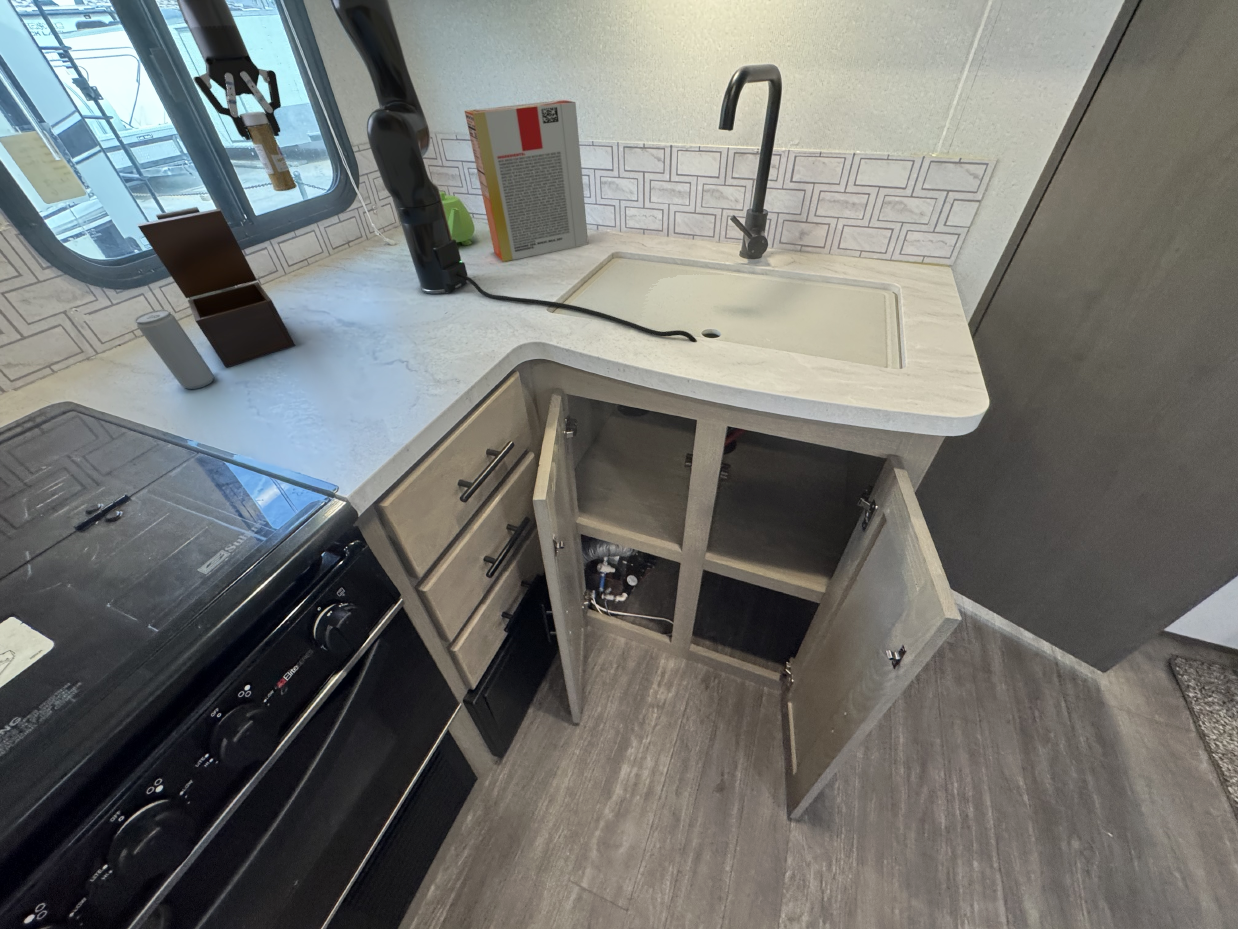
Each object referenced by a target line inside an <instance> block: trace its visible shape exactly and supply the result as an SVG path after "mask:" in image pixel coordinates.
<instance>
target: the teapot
mask: <svg viewBox="0 0 1238 929" xmlns="http://www.w3.org/2000/svg"><path fill="white" fill-rule="evenodd" d="M439 191H440V190H439ZM440 195H441V199H442V202H443V206H444V210H445V214H446V218H447V222H448V225H449V229H450V233H451V237H452V239H455V240H456V242H457V243H461V244H462V246H469V245H471V244H472V241H471V240H470V239H472V238H473V236H474V234H475V229H476V228H475V224H474V221H473V218H472V215H471V213H470V212H469V210H468V208H467V207H466V206H465V204H464V203H463V202H462V200H461V199H460V198H459V197H458V196H455V195H451V194H449V195H448V194H447V195H446V192H445V191H443V190H442V191H440Z"/></svg>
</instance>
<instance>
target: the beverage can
mask: <svg viewBox="0 0 1238 929" xmlns="http://www.w3.org/2000/svg"><path fill="white" fill-rule="evenodd" d="M134 323H135V324H136V327H137V328H138V329H139V331H140V333H141V334H142V335H143V337H144V338H145V339H146V340H147V342H148V344H150V346H151V347H152V348H153V350H154V351H155V352H156V354H157V355H158V356H159V358H160V360H162V362H163V363H164V365H165V366H166V367H167V369H168V370H169V372H170V373H171V374H172V375H173V377H174V378H175V380H176V381H177V382H178V384H179V385H180V386H181V387H182V388H184V389H188V390H196V389H200V388H204V387H207V386H208V385H210V384H212V383H213V381H214V378H215V375H214V373H213V371H212V370H211V369H210V367H209V366H208V364H207V362H206V361H205V360H204V358H203V356H202V355H201V354H200V352H199V351H198V349H197V347H196V346H195V345H194V343H193V342H192V340H191V338H190V337H189V336H188V334H187V333H186V331H185V329H184V328H183V327H182V325H181V324H180V322H179V321H178V320H177V317H176V316H175V315H174V314H173V313H171V311H170V310H169V309H157V310H151V311H148V312H145V313H142V314H140V315H139V316H137V317H136V318H135V319H134Z"/></svg>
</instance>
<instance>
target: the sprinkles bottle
mask: <svg viewBox="0 0 1238 929" xmlns="http://www.w3.org/2000/svg"><path fill="white" fill-rule="evenodd" d="M238 115H239V117H241V119H242V121H243V123H244V125H245V127H246V130H247V132H248V134H249V136H250V138H251V140H250V141H251V142H252V145H253V148H254V149H255V152H256V153H257V156H258V158H259V160H260V162H261V164H262V167H263V169H264V171H265V173H266V174H267V176H268V178H269V180H270V183H271V185H272V188H273V190H274V191H276V192H287V191H291V190H295V189H296V188H297V187H298V186H297V184H296V181H295V179H294V178H293V175H292V174H291V171H290V168H289V166H288V164H287V161H286V158H285V157H284V154H283V153H282V152H283V151H282V150H281V148H280V146H279V144H278V142H277V139H276V136H274V135H273V133H272V130H271V128H270V125H269V124H268V123H269V121H268V119H267V116H266V114H265V111H250V112H244V113H241V114H238Z"/></svg>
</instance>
